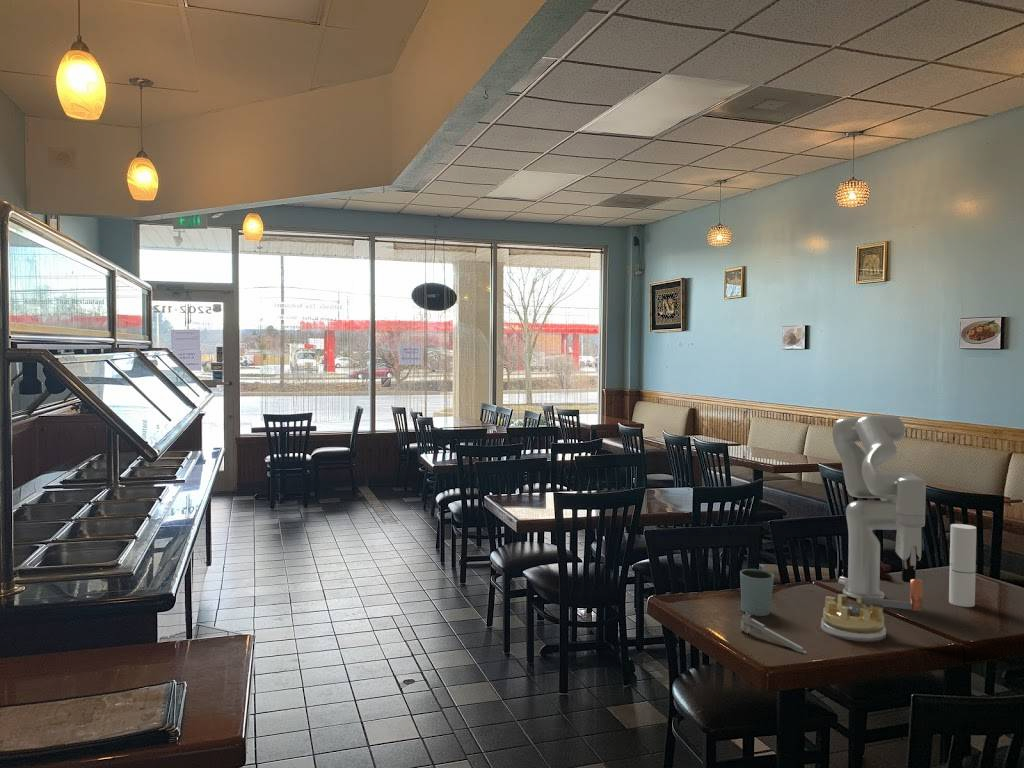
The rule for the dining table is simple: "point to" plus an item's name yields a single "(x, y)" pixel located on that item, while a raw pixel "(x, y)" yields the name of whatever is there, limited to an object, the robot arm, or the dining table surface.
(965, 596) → the cylindrical container
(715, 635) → the dining table surface
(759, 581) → the grey green cup
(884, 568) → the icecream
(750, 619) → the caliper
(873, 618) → the crank handle mechanism
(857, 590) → the robot arm
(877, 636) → the plate
